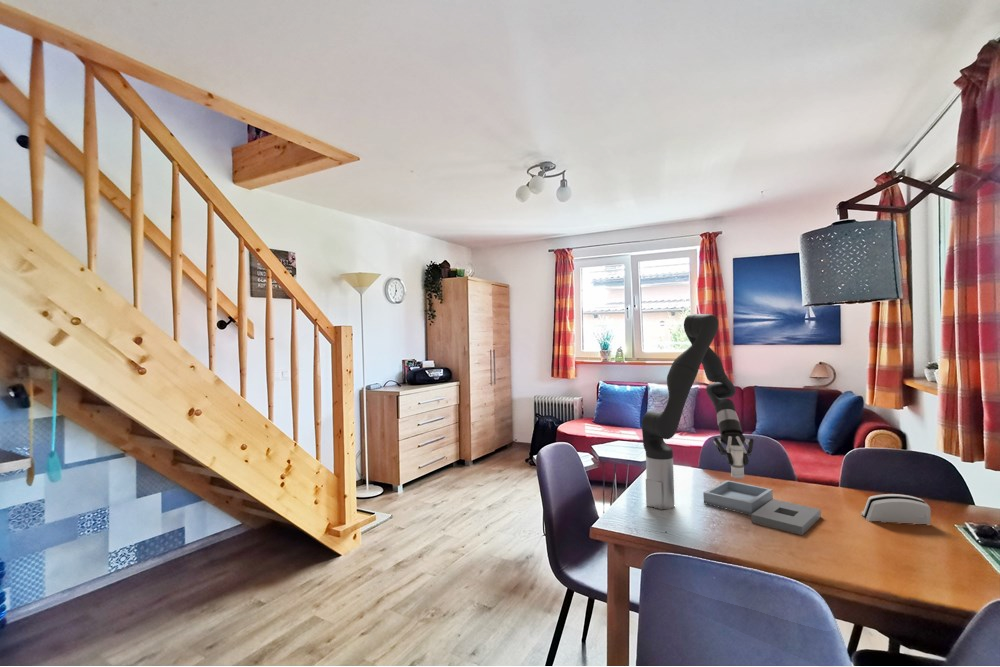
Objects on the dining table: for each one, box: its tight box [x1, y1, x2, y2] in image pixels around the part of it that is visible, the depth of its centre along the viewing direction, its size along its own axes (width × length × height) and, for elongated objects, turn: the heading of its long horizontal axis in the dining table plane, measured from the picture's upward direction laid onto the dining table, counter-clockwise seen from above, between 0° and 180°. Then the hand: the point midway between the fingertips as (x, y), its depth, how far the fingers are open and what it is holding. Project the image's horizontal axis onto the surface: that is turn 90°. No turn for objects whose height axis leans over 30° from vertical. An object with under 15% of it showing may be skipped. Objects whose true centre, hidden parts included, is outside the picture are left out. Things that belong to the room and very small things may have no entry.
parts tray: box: [702, 479, 774, 516], centre depth 164 cm, size 20×16×4 cm
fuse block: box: [750, 498, 822, 536], centre depth 147 cm, size 20×14×2 cm
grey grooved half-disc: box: [860, 493, 932, 525], centre depth 144 cm, size 17×5×10 cm, turn 75°
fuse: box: [730, 445, 745, 480], centre depth 164 cm, size 4×4×11 cm
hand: (738, 464), depth 163 cm, fingers closed on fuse, 4 cm apart
